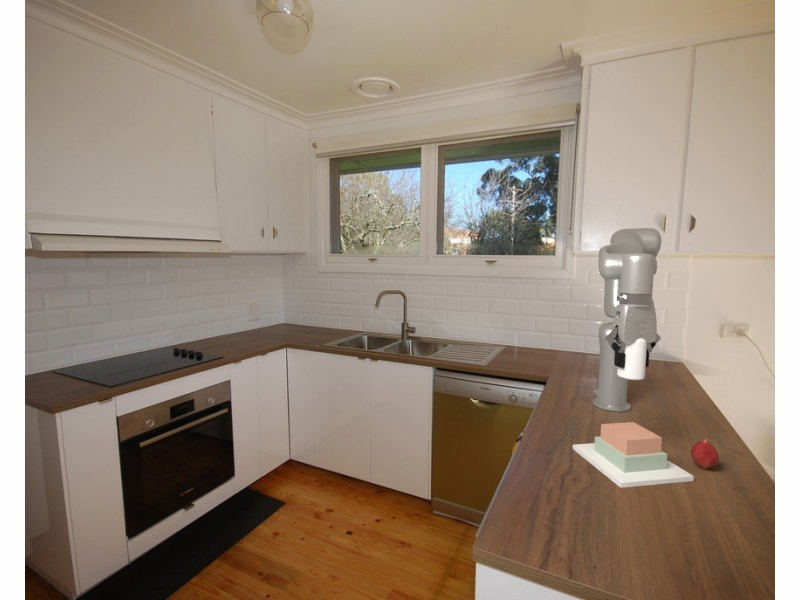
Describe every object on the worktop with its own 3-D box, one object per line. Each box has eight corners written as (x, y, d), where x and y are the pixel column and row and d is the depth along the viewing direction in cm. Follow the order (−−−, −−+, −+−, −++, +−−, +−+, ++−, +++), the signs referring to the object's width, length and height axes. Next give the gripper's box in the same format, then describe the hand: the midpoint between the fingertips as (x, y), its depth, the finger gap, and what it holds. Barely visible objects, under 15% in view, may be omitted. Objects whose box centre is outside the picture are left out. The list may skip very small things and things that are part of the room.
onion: (684, 464, 107) (687, 436, 106) (699, 460, 109) (701, 432, 108) (707, 475, 101) (710, 445, 100) (722, 471, 103) (725, 442, 102)
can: (619, 372, 112) (622, 330, 111) (646, 377, 108) (649, 333, 107) (614, 377, 107) (617, 333, 106) (642, 382, 103) (645, 336, 102)
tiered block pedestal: (572, 448, 115) (574, 418, 114) (634, 444, 118) (636, 414, 117) (620, 487, 96) (623, 451, 95) (693, 480, 99) (696, 445, 98)
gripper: (615, 301, 101) (611, 371, 102) (675, 301, 103) (671, 368, 105) (596, 299, 108) (593, 363, 110) (653, 298, 111) (649, 361, 112)
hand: (631, 365), depth 107 cm, fingers closed on can, 6 cm apart
